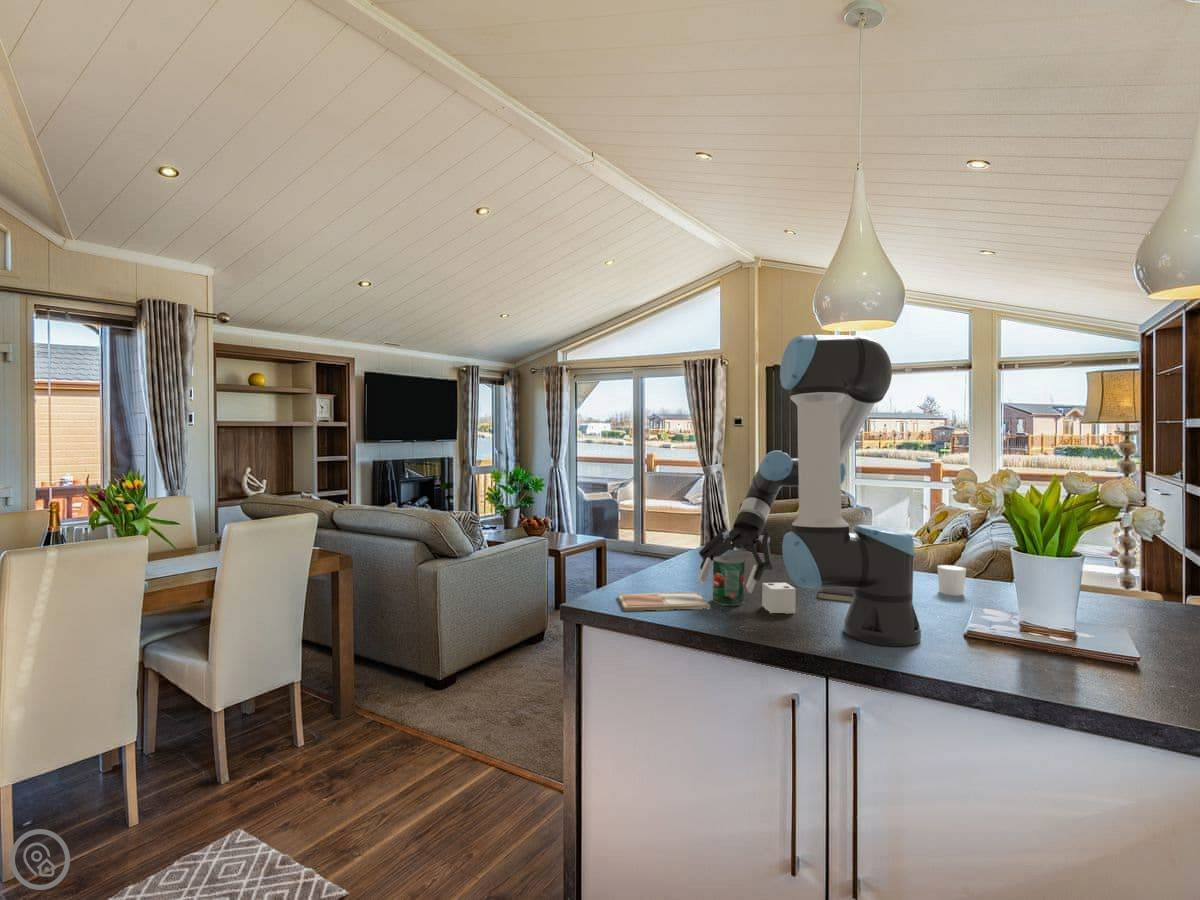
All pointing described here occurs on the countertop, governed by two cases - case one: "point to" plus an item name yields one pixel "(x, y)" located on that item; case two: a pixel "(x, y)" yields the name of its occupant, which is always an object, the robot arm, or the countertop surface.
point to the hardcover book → (836, 593)
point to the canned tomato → (728, 580)
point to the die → (778, 597)
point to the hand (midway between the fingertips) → (724, 585)
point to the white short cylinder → (951, 579)
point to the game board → (662, 601)
